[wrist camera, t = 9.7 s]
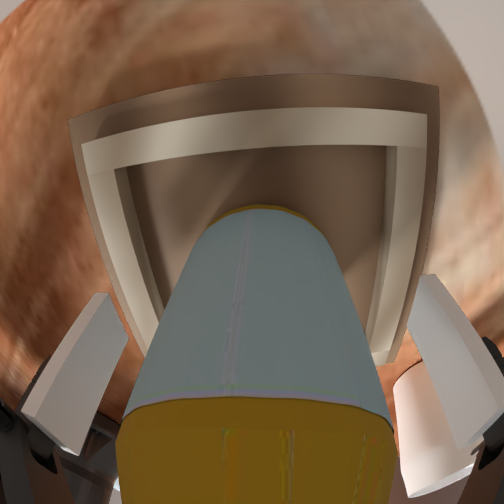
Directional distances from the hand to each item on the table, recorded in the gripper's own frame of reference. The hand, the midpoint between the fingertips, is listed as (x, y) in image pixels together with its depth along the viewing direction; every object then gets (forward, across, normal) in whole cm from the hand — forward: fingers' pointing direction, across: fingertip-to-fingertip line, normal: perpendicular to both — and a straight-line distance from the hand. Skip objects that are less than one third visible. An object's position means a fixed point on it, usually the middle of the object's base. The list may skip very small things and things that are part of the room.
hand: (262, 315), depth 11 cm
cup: (+6, +15, -16) cm, 23 cm away
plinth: (+6, 0, 0) cm, 6 cm away
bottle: (+4, 0, 0) cm, 4 cm away
